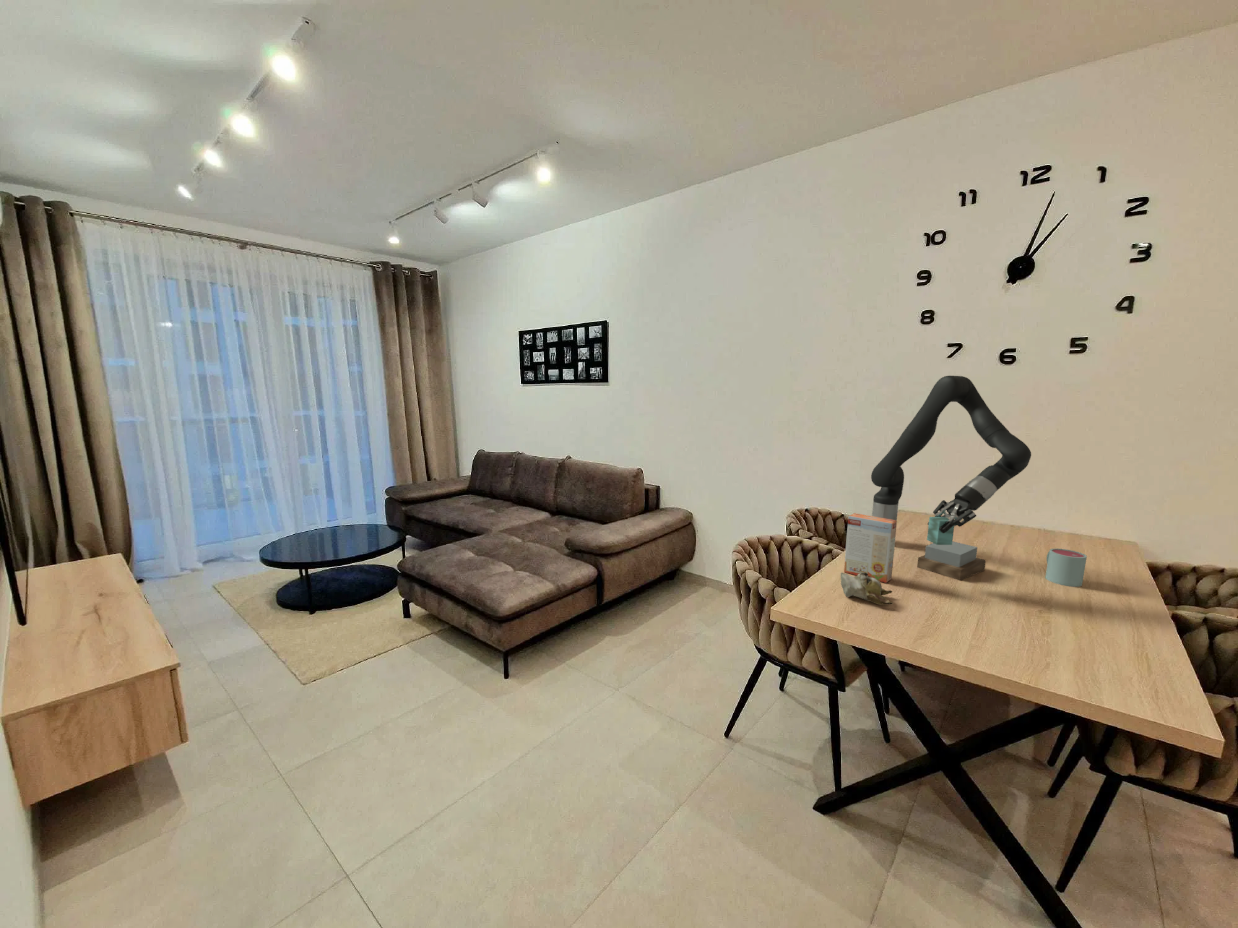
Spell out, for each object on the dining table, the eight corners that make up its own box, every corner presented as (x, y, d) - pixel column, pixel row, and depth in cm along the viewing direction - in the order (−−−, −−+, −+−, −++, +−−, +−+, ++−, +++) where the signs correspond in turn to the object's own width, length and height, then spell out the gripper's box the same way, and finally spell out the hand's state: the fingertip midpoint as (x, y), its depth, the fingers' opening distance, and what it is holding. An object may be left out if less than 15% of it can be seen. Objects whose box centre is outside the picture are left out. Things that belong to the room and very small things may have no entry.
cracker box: (892, 578, 166) (898, 519, 162) (886, 583, 162) (892, 523, 158) (849, 567, 176) (854, 511, 172) (843, 572, 172) (848, 515, 168)
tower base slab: (916, 569, 177) (918, 557, 176) (942, 559, 186) (943, 548, 185) (959, 582, 165) (961, 569, 164) (984, 571, 174) (985, 559, 174)
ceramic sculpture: (842, 562, 157) (895, 573, 150) (838, 586, 159) (890, 599, 152) (840, 573, 148) (896, 586, 141) (836, 599, 150) (891, 613, 143)
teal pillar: (926, 539, 163) (929, 516, 161) (941, 539, 163) (944, 516, 161) (936, 544, 158) (939, 521, 156) (951, 544, 158) (954, 520, 157)
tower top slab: (924, 557, 175) (925, 546, 175) (942, 550, 183) (943, 539, 183) (959, 567, 167) (960, 554, 166) (976, 559, 174) (977, 547, 174)
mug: (1089, 587, 159) (1094, 558, 158) (1056, 585, 161) (1061, 556, 160) (1060, 572, 173) (1065, 545, 171) (1030, 570, 175) (1034, 543, 173)
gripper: (953, 480, 164) (914, 515, 166) (985, 489, 150) (943, 527, 152) (966, 495, 165) (928, 529, 167) (1000, 506, 151) (957, 543, 153)
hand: (935, 528), depth 159 cm, fingers closed on teal pillar, 5 cm apart
